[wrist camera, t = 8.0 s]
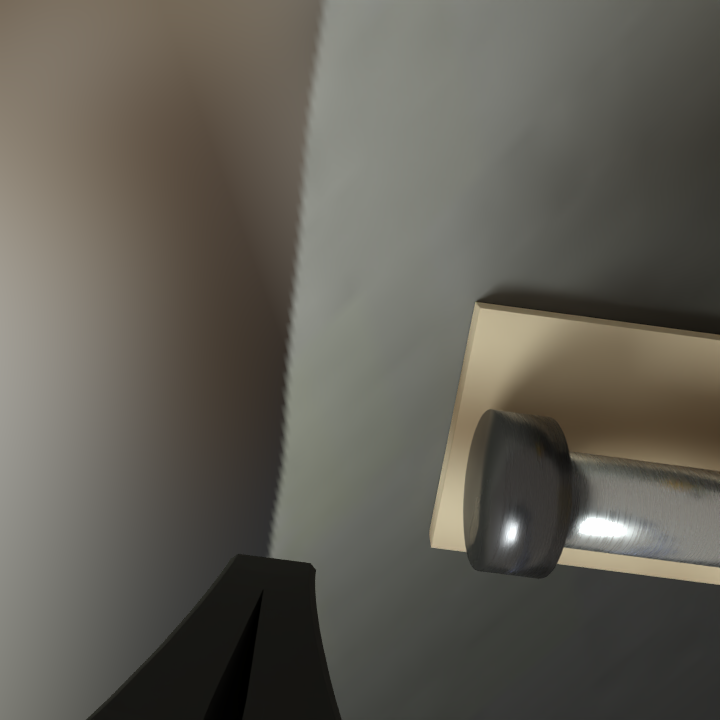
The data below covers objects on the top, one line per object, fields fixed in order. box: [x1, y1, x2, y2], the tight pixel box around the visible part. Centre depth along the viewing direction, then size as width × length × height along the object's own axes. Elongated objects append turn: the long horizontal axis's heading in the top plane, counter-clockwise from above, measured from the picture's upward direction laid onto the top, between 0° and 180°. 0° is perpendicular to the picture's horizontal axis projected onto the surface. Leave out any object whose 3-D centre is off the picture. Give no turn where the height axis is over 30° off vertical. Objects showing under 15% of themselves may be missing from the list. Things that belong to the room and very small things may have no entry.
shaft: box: [463, 409, 720, 579], centre depth 14 cm, size 4×12×4 cm, turn 83°
